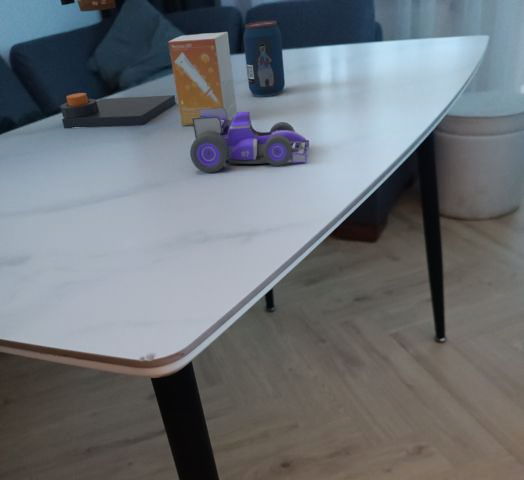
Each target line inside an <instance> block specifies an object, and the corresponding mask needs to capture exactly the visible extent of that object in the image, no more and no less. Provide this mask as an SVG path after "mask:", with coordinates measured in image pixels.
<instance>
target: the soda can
mask: <svg viewBox="0 0 524 480" xmlns="http://www.w3.org/2000/svg"><path fill="white" fill-rule="evenodd" d="M277 23H278V22H277V20H261V21H255V22H254V21H253V22H250V23H247V24H245V26H244V27H245V29H244V32H243V45H244V47H243V48H244V55H245V63H246V64H245V66H246V74H247V84H248V89H249V91H250V92H251V94H252V96H254V97H259V98H260V97H261V98H264V97H271V96H272V97H273V96H276V95H280V94H281V93H282V92H283V90H284V88H285V85H286V82H285V81H286V80H285V69H284V56H283V45H282V33H281V30H280V28H279V26H278V24H277Z"/></svg>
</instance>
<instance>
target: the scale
mask: <svg viewBox="0 0 524 480" xmlns="http://www.w3.org/2000/svg"><path fill="white" fill-rule="evenodd" d="M87 99H88V103H87V104H83V105H79V106H69V105H68V102H67V101H66V102H64V103H63V104H61V105H60V106H59V108H60V112H61V114H62V118H61V121H62V124H63V125H62V126H63V128H64V129H75V128H74V127H87V128H110V127H111V128H112V127H137V126H138V127H139V126H145V125H146V124H148V123H150V122H151V121H153V120H154V119H155V118H157V117H158V116H160V115H162V114H163V113H164V112H166V111H168V110H169V109H171V108H172V107H174V106H175V105H177V102H176V97H175V94H169V95H168V94H166V95H151V96H150V95H148V96H147V95H146V96H131V97H128V96H127V97H112V98H111V97H109V98H101V99H99V100H97V99H95V98H87ZM72 127H73V128H72Z"/></svg>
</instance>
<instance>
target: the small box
mask: <svg viewBox="0 0 524 480" xmlns="http://www.w3.org/2000/svg"><path fill="white" fill-rule="evenodd" d="M229 40H230V39H229V32H228V31H222V32H209V33H208V32H207V33H197V34H185V35H184V34H183V35H180V36H177V37H174V38H173V39H171V40H169V41H168V42H167V43H168V48H169V56H170V60H171V67H172V72H173V73H172V74H173V79H174V85H175V90H176V91H175V92H176V97H177V104H178V109H179V115H180V121H181V122H180V123H181V125H182V126H183V127H184V126H194V125H193V119H192V118H200V109H210V108H224V109H225V110H226V111H227V118H228V120H230V121H231V122H232V120H233V119H234V116H235V115H236V114H237V113H238V110H237V101H236V91H235V84H234V76H233V67H232V59H231V50H230V42H229Z"/></svg>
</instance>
